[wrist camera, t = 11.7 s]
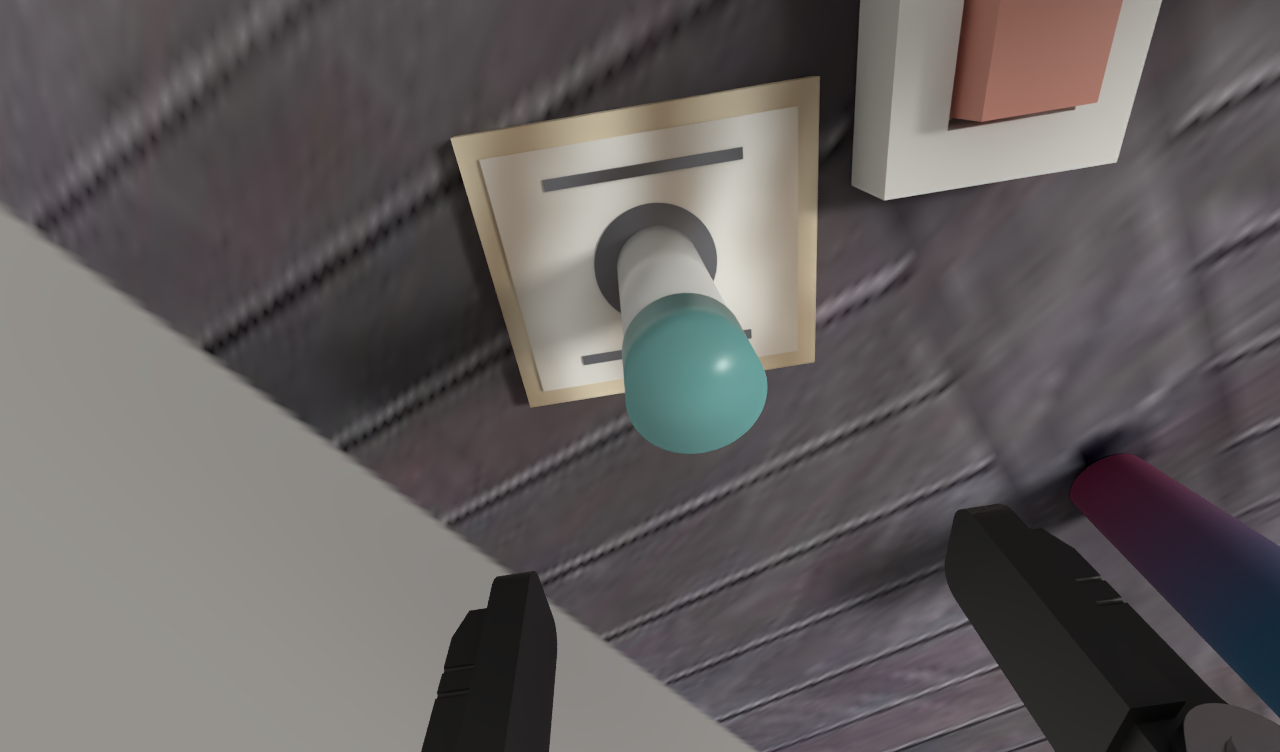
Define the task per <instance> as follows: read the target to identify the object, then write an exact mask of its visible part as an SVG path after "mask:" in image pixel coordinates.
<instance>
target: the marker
mask: <svg viewBox="0 0 1280 752" xmlns="http://www.w3.org/2000/svg"><path fill="white" fill-rule="evenodd" d="M617 274H618V285H619V296H620V307H621V318H622V329H623V344H622V362H623V375H624V387H625V400H626V408H627V412H628V416H629V418H630V420H631V422H632V424H633V426H634V427H635V429H636V430H637V431H638V432H639V433H640V434H641V435H642V436H643V437H644V438H645V439H646V440H647V441H649V442H650V443H652V444H654V445H656V446H658V447H660V448H662V449H665V450H668V451H672V452H676V453H685V454H695V453H704V452H708V451H713V450H716V449H719V448H721V447H724V446H726V445H728V444H730V443H732V442H733V441H735V440H737V439H738V438H739V437H741V436H742V435H743V434H744V433H746V432H747V431H748V430H749V429H750V428H751V426H752V425H753V424H754V423H755V422H756V420H757V419H758V417H759V415H760V414H761V412H762V410H763V407H764V404H765V401H766V396H767V378H766V374H765V370H764V368H763V366H762V364H761V362H760V360H759V358H758V356H757V354H756V353H755V351H754V349H753V347H752V345H751V344H750V342H749V340H748V338H747V336H746V334H745V333H744V331H743V329H742V327H741V325H740V324H739V322H738V320H737V319H736V317H735V315H734V314H733V313H732V312H731V311H730V310H729V308H727V306H726V304H725V302H724V300H723V299H722V297H721V295H720V293H719V291H718V289H717V287H716V286H715V284H714V282H713V280H712V278H711V276H710V274H709V273H708V271H707V269H706V267H705V265H704V263H703V261H702V259H701V258H700V256H699V254H698V252H697V250H696V248H695V246H694V245H693V243H692V242H691V240H690V239H689V238H688V237H687V236H686V235H685V234H683V233H682V232H680V231H679V230H676V229H674V228H671V227H667V226H652V227H647V228H645V229H642V230H640V231H638V232H636V233H635V234H634V235H632V236H631V237H630V238H629V239H628V240H627V241H626V243H625V244H624V245H623V247H622V249H621V251H620V253H619V257H618V261H617Z"/></svg>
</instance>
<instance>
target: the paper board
mask: <svg viewBox="0 0 1280 752" xmlns="http://www.w3.org/2000/svg"><path fill="white" fill-rule="evenodd" d="M819 96H820V76H808V77H802V78H797V79H791V80H785V81H779V82H773V83H767V84H761V85H755V86H749V87H743V88H737V89H731V90H725V91H719V92H714V93H708V94H702V95H696V96H690V97H684V98H678V99H672V100H666V101H660V102H654V103H648V104H642V105H636V106H630V107H625V108H619V109H613V110H607V111H601V112H595V113H589V114H583V115H577V116H571V117H565V118H559V119H553V120H547V121H542V122H536V123H530V124H524V125H518V126H512V127H506V128H500V129H494V130H488V131H482V132H476V133H470V134H464V135H459V136H455V137H452V138H450V139H451V142H452V146H453V149H454V152H455V156H456V159H457V162H458V166H459V169H460V172H461V176H462V179H463V183H464V186H465V189H466V193H467V196H468V199H469V203H470V206H471V209H472V213H473V216H474V219H475V223H476V226H477V230H478V233H479V236H480V240H481V243H482V246H483V250H484V253H485V256H486V260H487V263H488V266H489V270H490V273H491V276H492V280H493V283H494V287H495V290H496V293H497V297H498V300H499V303H500V307H501V310H502V313H503V317H504V320H505V323H506V327H507V330H508V333H509V337H510V340H511V344H512V347H513V350H514V354H515V357H516V360H517V364H518V367H519V370H520V374H521V377H522V380H523V384H524V387H525V390H526V394H527V397H528V401H529V404H530V407H537V406H543V405H550V404H556V403H562V402H568V401H575V400H581V399H587V398H593V397H599V396H606V395H612V394H618V393H624V392H625V387H624V375H623V362H622V344H623V329H622V318H621V307H620V296H619V285H618V274H617V261H618V257H619V253H620V251H621V249H622V247H623V245H624V244H625V243H626V241H627V240H628V239H629V238H630V237H631V236H632V235H634V234H635V233H636V232H638V231H640V230H642V229H645V228H647V227H652V226H667V227H671V228H674V229H676V230H679V231H680V232H682V233H683V234H685V235H686V236H687V237H688V238H689V239H690V240H691V242H692V243H693V245H694V246H695V248H696V250H697V252H698V254H699V256H700V258H701V259H702V261H703V263H704V265H705V267H706V269H707V271H708V273H709V274H710V276H711V278H712V280H713V282H714V284H715V286H716V287H717V289H718V291H719V293H720V295H721V297H722V299H723V300H724V302H725V304H726V306H727V308H729V310H730V311H731V312H732V313H733V314H734V315H735V317H736V319H737V320H738V322H739V324H740V325H741V327H742V329H743V331H744V333H745V334H746V336H747V338H748V340H749V342H750V344H751V345H752V347H753V349H754V351H755V353H756V354H757V356H758V358H759V360H760V362H761V364H762V366H763V368H764V370H768V369H774V368H780V367H787V366H793V365H799V364H805V363H812V362H815V313H816V258H817V204H818V150H819Z"/></svg>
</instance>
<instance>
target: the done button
mask: <svg viewBox="0 0 1280 752" xmlns="http://www.w3.org/2000/svg"><path fill="white" fill-rule="evenodd" d="M1122 2H1123V0H964V6H963V13H962V21H961V29H960V37H959V45H958V52H957V60H956V68H955V76H954V84H953V91H952V99H951V107H950V115H949V117H950V118H957V119H965V120H972V121H979V122H983V121H989V120H995V119H1001V118H1007V117H1013V116H1019V115H1025V114H1031V113H1037V112H1044V111H1050V110H1056V109H1062V108H1068V107H1074V106H1080V105H1086V104H1092V103H1097V102H1098V98H1099V94H1100V90H1101V86H1102V82H1103V78H1104V74H1105V70H1106V66H1107V62H1108V58H1109V54H1110V50H1111V46H1112V42H1113V38H1114V34H1115V30H1116V26H1117V22H1118V18H1119V14H1120V10H1121V6H1122Z"/></svg>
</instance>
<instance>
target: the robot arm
mask: <svg viewBox="0 0 1280 752" xmlns="http://www.w3.org/2000/svg"><path fill="white" fill-rule="evenodd" d="M945 574H946V579H947V582H948V585H949V588H950V590H951V592H952V594H953V596H954V598H955V600H956V601H957V603H958V604H959V606H960V607H961V609H962V610H963V612H964V613H965V615H966V616H967V618H968V619H969V621H970V622H971V624H972V625H973V627H974V629H975V630H976V632H977V633H978V635H979V636H980V638H981V639H982V641H983V642H984V644H985V645H986V647H987V648H988V650H989V651H990V653H991V654H992V656H993V657H994V659H995V660H996V662H997V664H998V665H999V667H1000V668H1001V670H1002V671H1003V673H1004V674H1005V676H1006V677H1007V679H1008V680H1009V682H1010V683H1011V685H1012V686H1013V688H1014V689H1015V691H1016V692H1017V694H1018V696H1019V697H1020V699H1021V700H1022V702H1023V703H1024V705H1025V706H1026V708H1027V709H1028V711H1029V712H1030V714H1031V715H1032V717H1033V718H1034V720H1035V721H1036V723H1037V724H1038V726H1039V728H1040V729H1041V731H1042V732H1043V734H1044V735H1045V737H1046V738H1047V740H1048V741H1049V743H1050V744H1051V746H1052V747H1053V749H1054V750H1055V752H1280V725H1278V724H1277V723H1275V722H1273V721H1271V720H1269V719H1267V718H1265V717H1263V716H1262V715H1259V714H1257V713H1254V712H1252V711H1249V710H1247V709H1243V708H1240V707H1237V706H1233V705H1229V704H1228V703H1226V702H1225V701H1224V700H1223V699H1221V698H1220V697H1219V696H1218V695H1217V694H1216V693H1215V692H1214V691H1213V690H1212V689H1211V688H1210V687H1209V686H1208V685H1207V684H1206V683H1205V682H1204V681H1203V680H1202V679H1201V678H1200V677H1199V676H1198V675H1197V674H1196V673H1195V672H1194V671H1193V670H1192V669H1191V668H1190V667H1189V666H1188V665H1187V664H1186V663H1185V662H1184V661H1183V660H1182V659H1181V658H1180V657H1179V656H1178V655H1177V654H1176V652H1175V651H1174V650H1173V649H1172V648H1171V647H1170V646H1169V645H1168V644H1167V643H1166V642H1165V641H1164V640H1163V639H1162V638H1161V637H1160V636H1159V635H1158V634H1157V633H1156V632H1155V631H1154V630H1153V629H1152V628H1151V627H1150V626H1149V625H1148V624H1147V623H1146V622H1145V621H1144V620H1143V619H1142V618H1141V616H1140V615H1139V614H1138V613H1137V612H1136V611H1135V610H1134V609H1133V608H1132V607H1131V606H1130V605H1129V604H1128V603H1124V602H1123V601H1122V599H1121V596H1120V595H1119V594H1118V593H1117V592H1116V591H1115V590H1114V589H1113V588H1112V587H1111V586H1110V585H1109V584H1108V583H1107V582H1106V580H1104V581H1103V580H1102V579H1101V578H1100V574H1099V573H1098V572H1097V571H1096V570H1095V569H1094V568H1093V567H1092V566H1091V565H1090V564H1089V563H1088V562H1087V561H1086V560H1085V559H1084V558H1083V557H1082V556H1081V555H1080V554H1079V553H1078V552H1077V551H1076V550H1075V549H1074V548H1072V547H1071V546H1069V545H1068V544H1066V543H1064V542H1063V541H1061V540H1060V539H1058V538H1056V537H1055V536H1053V535H1051V534H1050V533H1048V532H1047V531H1045V530H1043V529H1042V528H1041V529H1034V530H1030V529H1029V528H1028V527H1027V526H1026V525H1025V524H1024V523H1023V521H1022V520H1021V519H1020V518H1019V517H1018V516H1017V515H1016V514H1015V513H1014V512H1013V511H1012V510H1011V509H1010V508H1009V507H1007V506H1006V505H1003V504H994V505H987V506H981V507H974V508H967V509H960V510H958V511H957V512H956V513H955V516H954V520H953V525H952V530H951V535H950V540H949V545H948V550H947V555H946V560H945ZM556 659H557V634H556V627H555V622H554V619H553V615H552V613H551V610H550V607H549V604H548V602H547V599H546V596H545V593H544V590H543V588H542V585H541V582H540V579H539V577H538V574H537V573H536V572H535V571H532V572H525V573H518V574H511V575H505V576H498V577H496V578H495V579H494V581H493V584H492V588H491V592H490V597H489V601H488V606H487V608H485V609H478V610H471V611H469V612H468V614H467V615H466V617H465V619H464V620H463V621H462V623H461V625H460V626H459V628H458V629H457V631H456V632H455V634H454V635H453V637H452V639H451V643H450V646H449V650H448V654H447V658H446V662H445V665H444V673H443V674H442V677H441V680H440V684H439V687H438V691H437V694H438V697H437V699H435V702H434V706H433V710H432V714H431V718H430V722H429V725H428V728H427V732H426V736H425V740H424V743H423V747H422V751H421V752H549V745H550V733H551V720H552V708H553V696H554V684H555V671H556Z"/></svg>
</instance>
